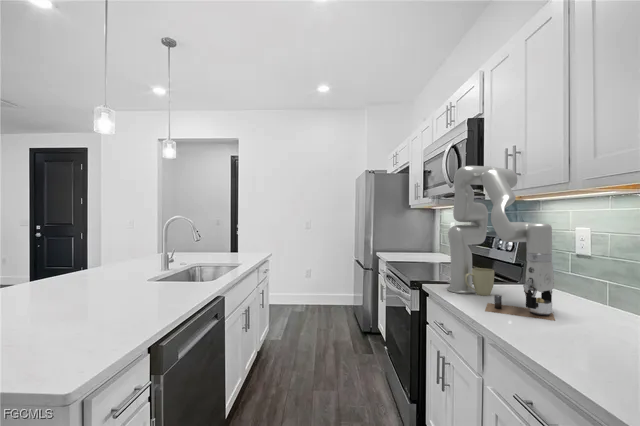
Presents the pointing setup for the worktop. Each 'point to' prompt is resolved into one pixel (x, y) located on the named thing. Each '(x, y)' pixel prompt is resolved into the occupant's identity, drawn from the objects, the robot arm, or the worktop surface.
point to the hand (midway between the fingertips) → (538, 306)
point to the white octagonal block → (542, 307)
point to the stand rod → (497, 301)
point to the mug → (482, 280)
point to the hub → (539, 313)
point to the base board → (516, 311)
